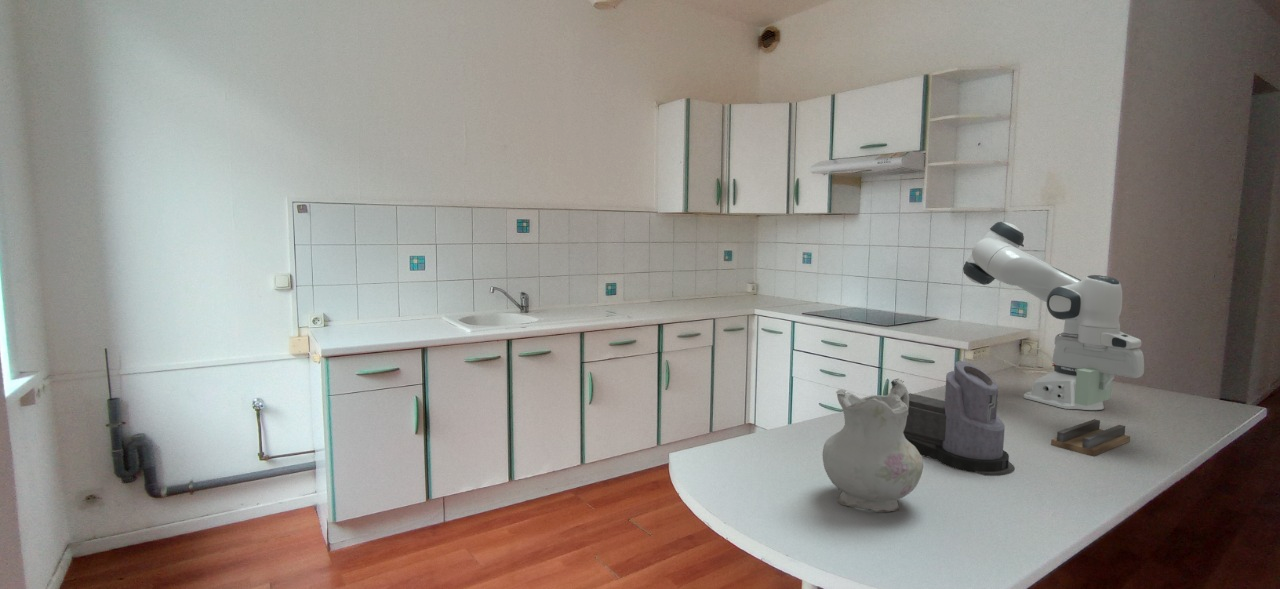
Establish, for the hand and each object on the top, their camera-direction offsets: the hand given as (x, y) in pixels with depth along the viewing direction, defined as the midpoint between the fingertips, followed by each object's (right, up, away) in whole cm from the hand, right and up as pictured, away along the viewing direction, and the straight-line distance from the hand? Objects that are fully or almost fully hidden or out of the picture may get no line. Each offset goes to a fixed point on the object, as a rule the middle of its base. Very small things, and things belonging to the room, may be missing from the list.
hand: (1094, 387), depth 168 cm
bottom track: (0, -15, +1) cm, 15 cm away
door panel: (0, -4, 0) cm, 4 cm away
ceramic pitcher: (-73, -18, -36) cm, 84 cm away
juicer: (-43, -16, -9) cm, 47 cm away
